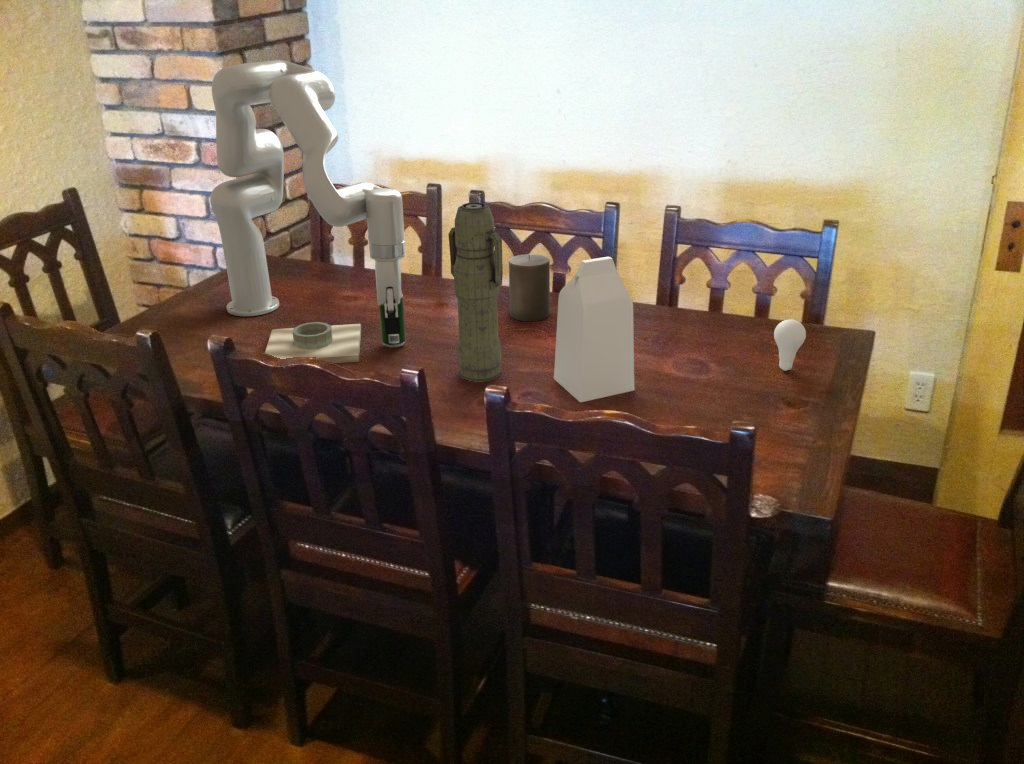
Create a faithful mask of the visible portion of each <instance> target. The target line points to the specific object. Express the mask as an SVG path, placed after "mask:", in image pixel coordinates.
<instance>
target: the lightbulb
mask: <svg viewBox="0 0 1024 764" xmlns="http://www.w3.org/2000/svg"><path fill="white" fill-rule="evenodd" d="M773 331H774V332H773V338H774V341H775V343H776V345H777V348H778V359H779V365H778V367H779V368H780V369H782V371H784V372H787V371H788V370H792V369H793V364H794V360H795V359H796V355H797V352H798V350H799V349H800V348H801V346H802V345H803V344H804V343H805V340H806V339H807V338H806V337H807V331H806V328H805V327H804V325H803V324H802V322H800V321H798V320H796V319H792V318H791V319H785V320H783V321H781V322H779V323H778V324H777V325H776V326H775V328H774V330H773Z"/></svg>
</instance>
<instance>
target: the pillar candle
mask: <svg viewBox="0 0 1024 764" xmlns="http://www.w3.org/2000/svg"><path fill="white" fill-rule="evenodd" d="M550 266H551V265H550V258H549V257H548V256H545V255H542V254H537V253H536V254H535V253H534V254H533V253H528V254H527V253H526V254H518V255H514V256H512V257H510V258H508V279H509V281H508V282H509V284H508V291H509V292H508V296H509V297H508V298H509V300H508V301H509V316H510V317H511V318H513V319H514V320H519V321H522V322H539V321H541V320H546V319H547V318H549V316H550V314H551V308H550V307H551V305H550V304H551V301H550V300H551V299H550V298H551V297H550V295H551V294H550V293H551V291H550V290H551V286H550V285H551V284H550V282H551V281H550V280H551V279H550V277H551V274H550V268H551V267H550Z"/></svg>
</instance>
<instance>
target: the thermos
mask: <svg viewBox="0 0 1024 764" xmlns="http://www.w3.org/2000/svg"><path fill="white" fill-rule="evenodd" d="M456 210H457V211H456V214H455V217H454V222H453V223H454V227H451V228H450V230H449V232H448V244H449V247H448V249H449V256H450V257H449V258H450V260H449V261H450V274H451V275H452V277H453V285H454V295H455V298H457V318H458V337H459V338H458V340H457V343H456V351H457V365H458V366H459V367H458V369H459V370H458V374H459V377H460V376H461V377H462V378H463V379H462V378H461V377H460V378H461V379H462V380H464V379H466V380H471V381H484V382H483V383H486V382H485V381H487V382H491V381H490V380H492V381H494V380H495V379H494V378H496V377H498V376H499V375H500V376H501V374H500V373H502V370H501V364H502V343H501V340H500V338H499V323H498V322H499V320H498V317H499V316H498V314H499V313H498V296H499V293H500V287H501V286H502V285H503V274H504V273H503V239H502V238H501V236H500V234H499V232H496V229H495V219H494V215H493V213H492V211H491V208H490V205H487V204H485V203H482V202H467V203H464V204H462V205H460V206H458V208H457V209H456ZM500 376H499V377H500ZM499 377H498V378H499ZM493 379H494V380H493ZM496 379H497V378H496ZM466 380H465V381H466Z"/></svg>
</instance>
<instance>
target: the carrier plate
mask: <svg viewBox="0 0 1024 764" xmlns="http://www.w3.org/2000/svg"><path fill="white" fill-rule="evenodd" d="M361 336H362V325H361V323H352V324H350V323H349V324H348V323H347V324H335V325H334V324H333V325H330V324H328V323H327V322H321V321H315V322H314V321H313V322H312V321H311V322H305V323H302V324H299V325H296V326H295V327H291V328H290V327H288V328H287V327H286V328H275V329H274V328H273V329H272V330H271V332H270V335H269V338H268V341H267V345H266V348H265V351H264V354H265V353H266V354H269V355H272V356H274V357H277V358H280V359H286V358H293V357H316V358H320V359H324V360H328V361H331V362H334V363H333V364H341V363H342V364H343V363H357V362H359V361H360V351H361V349H360V348H361Z"/></svg>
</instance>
